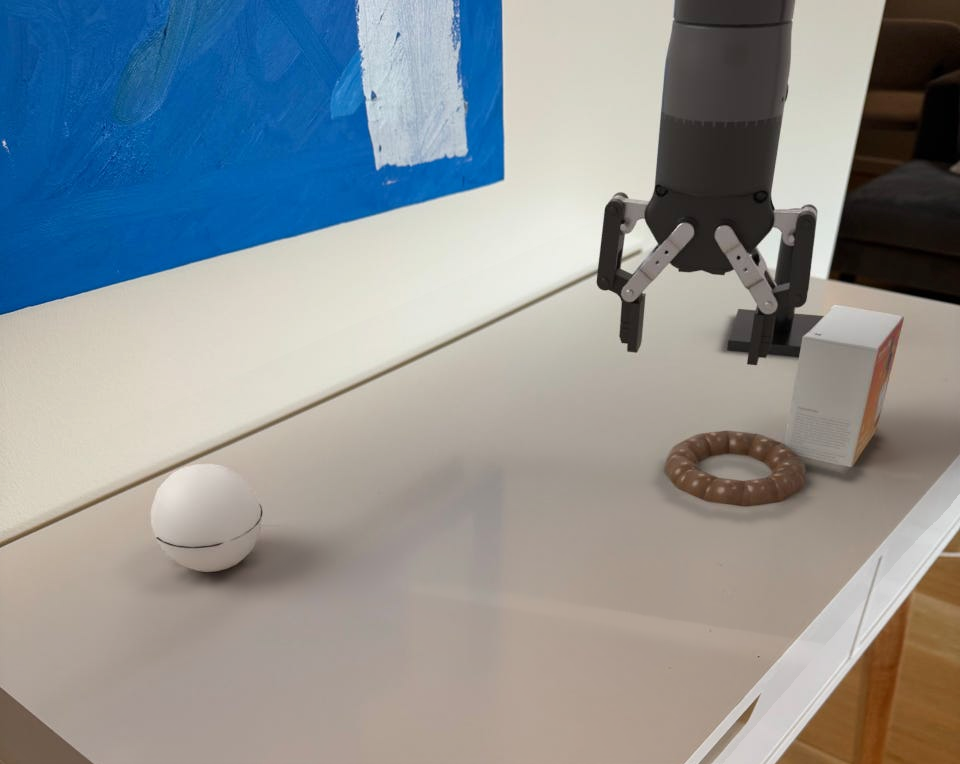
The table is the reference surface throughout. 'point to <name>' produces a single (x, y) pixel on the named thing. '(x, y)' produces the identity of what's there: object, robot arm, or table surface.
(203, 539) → the seamed sphere
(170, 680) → the table surface
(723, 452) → the brown ribbed ring
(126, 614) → the table surface
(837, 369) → the small box
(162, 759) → the table surface
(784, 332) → the stand
